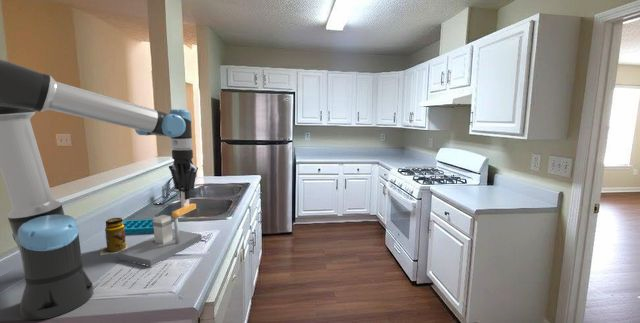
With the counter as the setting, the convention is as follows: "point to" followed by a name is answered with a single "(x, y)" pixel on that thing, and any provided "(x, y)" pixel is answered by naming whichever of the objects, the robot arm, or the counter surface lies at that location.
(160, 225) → the white upright block
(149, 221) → the ice cube tray
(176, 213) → the clip
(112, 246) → the condiment
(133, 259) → the grey flat slab
